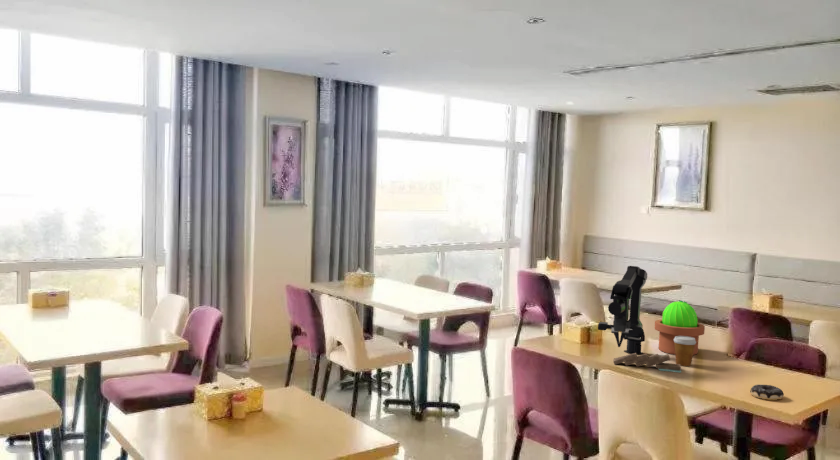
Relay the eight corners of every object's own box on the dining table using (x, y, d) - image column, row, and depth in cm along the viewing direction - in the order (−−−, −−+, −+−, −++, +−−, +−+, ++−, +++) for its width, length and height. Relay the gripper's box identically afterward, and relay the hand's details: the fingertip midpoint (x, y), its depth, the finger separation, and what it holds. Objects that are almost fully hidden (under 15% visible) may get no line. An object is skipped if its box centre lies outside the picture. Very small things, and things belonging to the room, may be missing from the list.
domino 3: (635, 363, 307) (657, 356, 304) (635, 360, 312) (657, 353, 309) (636, 367, 307) (659, 359, 304) (637, 364, 312) (659, 356, 309)
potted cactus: (670, 357, 327) (674, 304, 325) (645, 346, 348) (647, 296, 346) (712, 356, 332) (715, 303, 330) (684, 345, 353) (687, 296, 351)
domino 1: (613, 361, 310) (635, 355, 307) (613, 358, 315) (636, 352, 312) (614, 364, 310) (637, 358, 307) (615, 362, 315) (637, 356, 312)
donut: (788, 398, 268) (789, 388, 267) (772, 403, 261) (772, 393, 261) (760, 391, 277) (761, 381, 276) (743, 395, 270) (744, 385, 270)
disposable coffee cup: (691, 362, 319) (692, 336, 318) (697, 367, 309) (699, 340, 308) (669, 361, 320) (671, 335, 319) (675, 366, 310) (676, 339, 309)
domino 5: (656, 364, 304) (680, 367, 301) (656, 361, 309) (680, 364, 306) (655, 368, 305) (680, 370, 302) (655, 365, 309) (680, 368, 306)
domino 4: (645, 363, 306) (668, 356, 303) (646, 361, 311) (668, 353, 307) (647, 367, 306) (670, 359, 303) (647, 364, 310) (669, 357, 307)
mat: (658, 370, 303) (658, 369, 303) (658, 365, 310) (658, 364, 310) (681, 372, 300) (681, 371, 300) (680, 368, 308) (680, 367, 308)
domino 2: (624, 362, 308) (646, 355, 305) (624, 359, 313) (647, 353, 310) (625, 365, 308) (648, 359, 305) (626, 363, 313) (648, 356, 310)
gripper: (598, 313, 305) (596, 348, 306) (643, 317, 300) (641, 353, 301) (599, 309, 316) (597, 343, 317) (643, 312, 310) (641, 347, 311)
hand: (619, 346), depth 311 cm, fingers closed
